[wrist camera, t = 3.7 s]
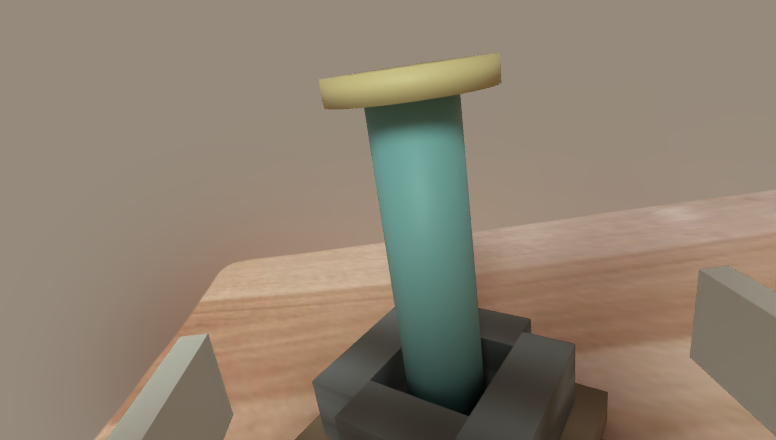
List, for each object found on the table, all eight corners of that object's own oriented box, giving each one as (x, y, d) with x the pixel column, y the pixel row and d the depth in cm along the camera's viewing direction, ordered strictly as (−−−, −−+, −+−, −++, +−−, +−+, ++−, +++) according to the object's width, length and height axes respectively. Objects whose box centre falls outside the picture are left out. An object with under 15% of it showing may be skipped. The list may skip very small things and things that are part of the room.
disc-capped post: (425, 360, 32) (385, 68, 25) (538, 395, 27) (526, 48, 21) (356, 442, 26) (280, 85, 19) (486, 503, 21) (445, 63, 15)
